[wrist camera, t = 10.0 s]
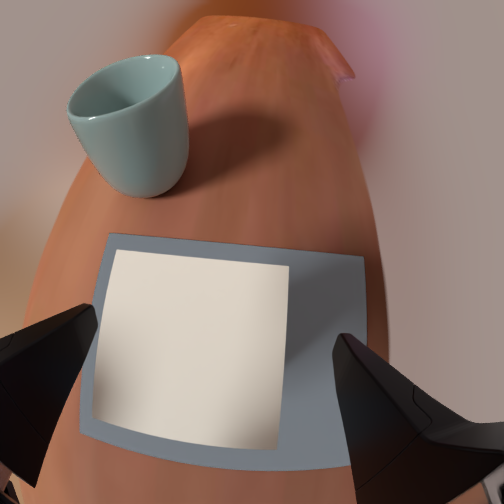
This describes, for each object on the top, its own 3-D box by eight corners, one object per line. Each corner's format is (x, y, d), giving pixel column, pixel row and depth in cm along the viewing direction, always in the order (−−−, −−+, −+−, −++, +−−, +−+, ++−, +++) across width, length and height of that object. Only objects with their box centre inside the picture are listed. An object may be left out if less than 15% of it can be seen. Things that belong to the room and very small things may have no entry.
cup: (201, 143, 24) (192, 49, 14) (188, 214, 21) (161, 111, 11) (126, 145, 23) (96, 63, 14) (101, 212, 20) (45, 129, 11)
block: (249, 390, 16) (276, 450, 4) (187, 383, 16) (91, 417, 4) (254, 330, 17) (288, 266, 6) (193, 324, 17) (116, 249, 6)
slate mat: (354, 463, 14) (356, 464, 14) (81, 431, 13) (79, 432, 13) (362, 258, 20) (363, 256, 20) (110, 234, 20) (109, 232, 19)
